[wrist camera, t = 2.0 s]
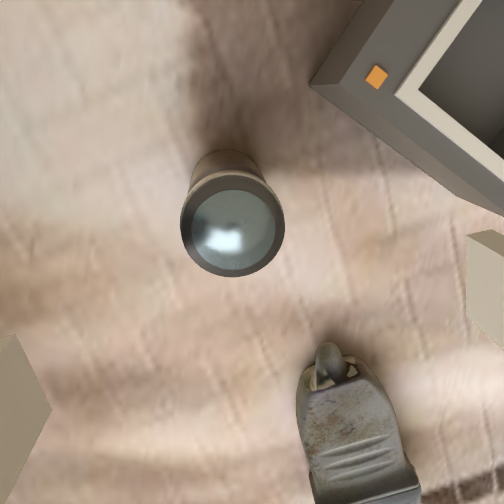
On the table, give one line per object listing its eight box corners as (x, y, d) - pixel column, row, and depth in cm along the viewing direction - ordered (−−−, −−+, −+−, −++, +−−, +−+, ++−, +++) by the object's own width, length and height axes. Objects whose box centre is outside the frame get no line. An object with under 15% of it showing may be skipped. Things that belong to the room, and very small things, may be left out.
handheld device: (375, 315, 35) (398, 348, 30) (409, 478, 42) (432, 522, 38) (264, 349, 35) (272, 386, 31) (318, 504, 42) (330, 552, 38)
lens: (175, 196, 29) (158, 248, 20) (214, 132, 28) (215, 154, 18) (237, 233, 31) (249, 297, 21) (277, 174, 29) (308, 214, 20)
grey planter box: (308, 85, 27) (342, 83, 20) (417, -83, 25) (502, -155, 17) (457, 196, 31) (531, 228, 24) (566, 62, 28) (688, 52, 21)
